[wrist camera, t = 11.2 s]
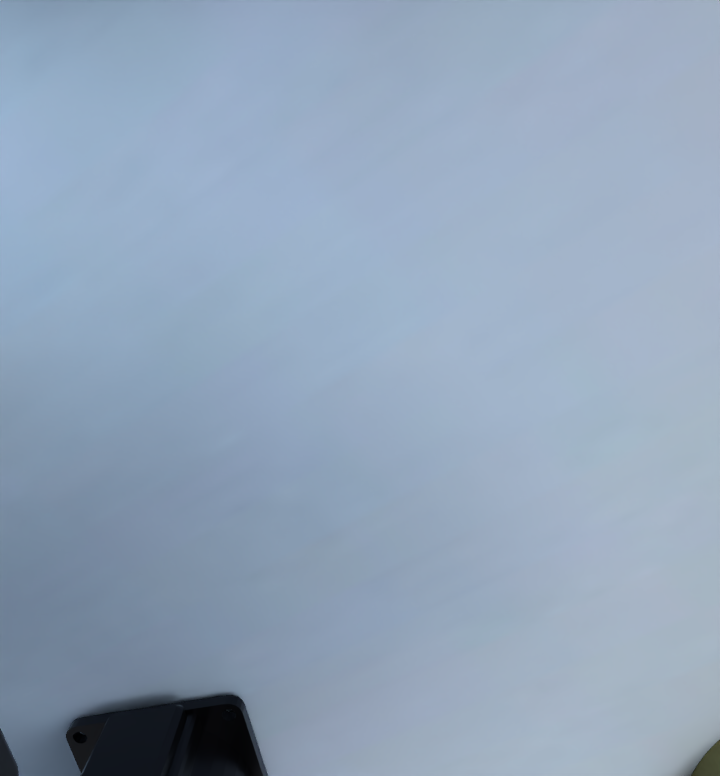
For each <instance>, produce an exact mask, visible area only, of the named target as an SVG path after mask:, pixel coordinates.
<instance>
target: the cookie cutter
mask: <svg viewBox="0 0 720 776" xmlns="http://www.w3.org/2000/svg"><path fill="white" fill-rule="evenodd" d="M691 776H720V740H719V741H718V742H717V743H716V744H715V745H714V746H713V747H712V748H711V749H710V750H709V751H708V752H707V753H706V754H705V756H704V757H703V758H702V759H701V761H700V762H699V764H698V765H697V767H696V768H695V770H694V772H693V774H692V775H691Z"/></svg>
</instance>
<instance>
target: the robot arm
mask: <svg viewBox="0 0 720 776" xmlns="http://www.w3.org/2000/svg"><path fill="white" fill-rule="evenodd" d="M227 709H230V710H233V711H234V712H228V711H226V710H227ZM80 732H82V733H84V734H82V733H80ZM66 738H67V741H68V744H69V746H70V748H71V751H72V753H73V755H74V758H75V760H76V762H77V765H78V767H79V769H80V771H81V776H268V775H267V772H266V768H265V765H264V762H263V759H262V756H261V753H260V750H259V747H258V744H257V741H256V737H255V734H254V731H253V728H252V725H251V722H250V719H249V716H248V713H247V710H246V706H245V704H244V702H243V700H241V699H240V698H239V697H236V696H233V695H226V696H220V697H213V698H207V699H200V700H194V701H187V702H181V703H174V704H168V705H162V706H155V707H149V708H142V709H136V710H129V711H123V712H116V713H110V714H103V715H97V716H90V717H84V718H79V719H76V720H74V721H73V722H72V724H71V726H70V727H69V729H68V731H67V734H66ZM0 776H19V773H18V766H17V763H16V761H15V759H14V757H13V755H12V752H11V750H10V748H9V746H8V744H7V742H6V740H5V737H4V735H3V733H2V731H1V729H0Z"/></svg>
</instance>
